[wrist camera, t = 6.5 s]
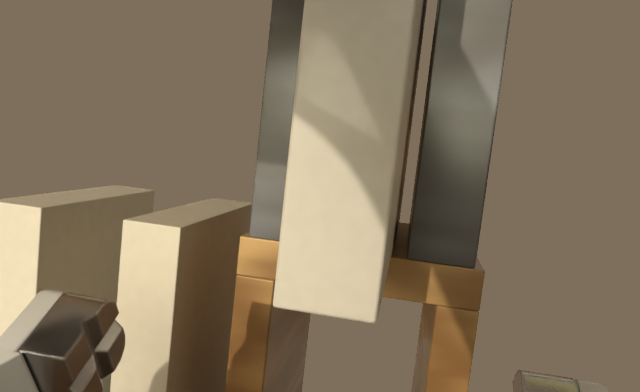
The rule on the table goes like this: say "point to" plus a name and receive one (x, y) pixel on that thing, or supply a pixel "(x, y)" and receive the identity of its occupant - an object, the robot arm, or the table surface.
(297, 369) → the book stand
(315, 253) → the white book
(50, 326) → the robot arm
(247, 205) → the cream teal blocky piece
